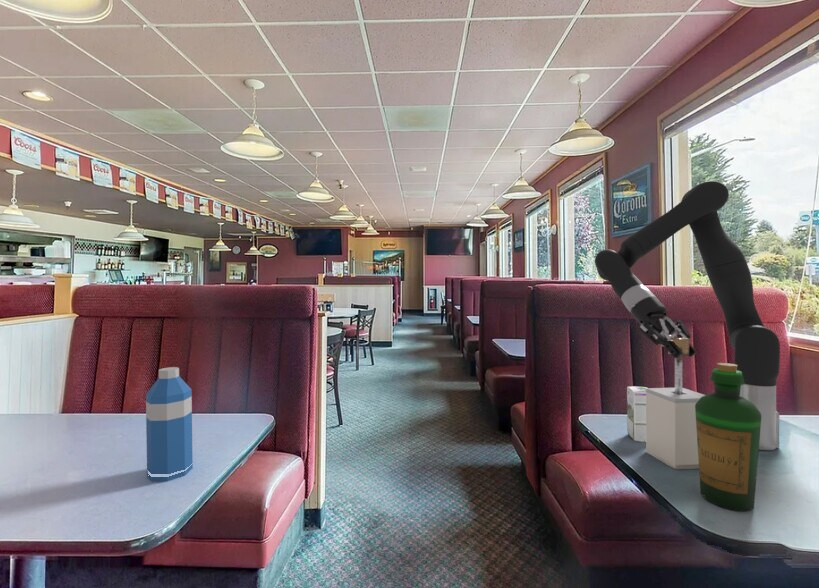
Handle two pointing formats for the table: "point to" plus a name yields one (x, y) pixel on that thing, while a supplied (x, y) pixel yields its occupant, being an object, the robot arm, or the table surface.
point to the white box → (672, 427)
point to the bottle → (728, 441)
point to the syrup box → (636, 413)
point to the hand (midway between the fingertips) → (686, 355)
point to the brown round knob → (680, 361)
